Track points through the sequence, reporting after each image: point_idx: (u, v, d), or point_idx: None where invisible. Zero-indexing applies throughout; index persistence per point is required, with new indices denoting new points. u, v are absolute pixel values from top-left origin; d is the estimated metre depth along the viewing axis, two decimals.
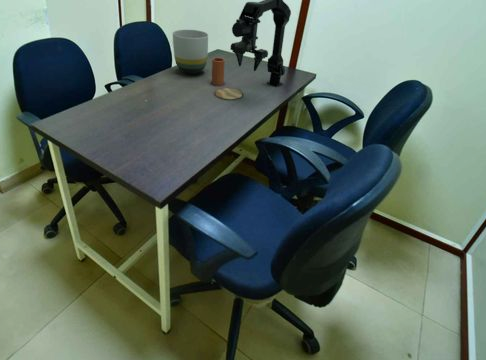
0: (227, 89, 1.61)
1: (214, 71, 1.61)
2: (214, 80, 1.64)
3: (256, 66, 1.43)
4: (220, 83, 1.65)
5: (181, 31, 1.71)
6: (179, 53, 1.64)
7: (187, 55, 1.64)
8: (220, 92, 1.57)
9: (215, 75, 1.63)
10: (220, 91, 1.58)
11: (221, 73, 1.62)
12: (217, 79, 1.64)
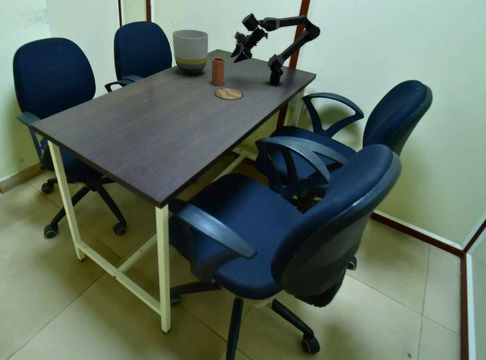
0: (227, 89, 1.61)
1: (214, 71, 1.61)
2: (214, 80, 1.64)
3: (237, 59, 1.56)
4: (220, 83, 1.65)
5: (181, 31, 1.71)
6: (179, 53, 1.64)
7: (187, 55, 1.64)
8: (220, 92, 1.57)
9: (215, 75, 1.63)
10: (220, 91, 1.58)
11: (221, 73, 1.62)
12: (217, 79, 1.64)
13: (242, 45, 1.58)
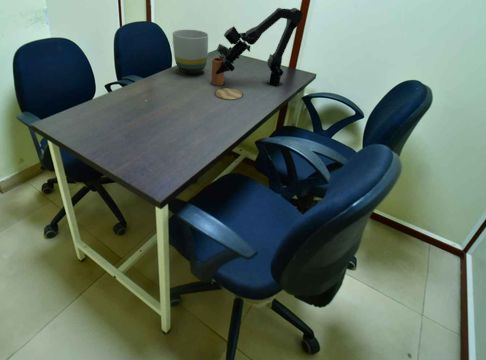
0: (227, 89, 1.61)
1: (214, 71, 1.61)
2: (214, 80, 1.64)
3: (219, 70, 1.60)
4: (220, 83, 1.65)
5: (181, 31, 1.71)
6: (179, 53, 1.64)
7: (187, 55, 1.64)
8: (220, 92, 1.57)
9: (215, 75, 1.63)
10: (220, 91, 1.58)
11: (221, 73, 1.62)
12: (217, 79, 1.64)
13: (225, 58, 1.60)
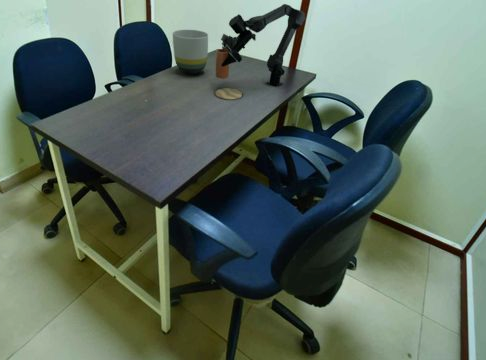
0: (227, 89, 1.61)
1: (219, 63, 1.51)
2: (219, 73, 1.54)
3: (225, 62, 1.50)
4: (225, 76, 1.56)
5: (181, 31, 1.71)
6: (179, 53, 1.64)
7: (187, 55, 1.64)
8: (220, 92, 1.57)
9: (220, 68, 1.53)
10: (220, 91, 1.58)
11: (226, 65, 1.52)
12: (222, 72, 1.54)
13: (230, 48, 1.50)
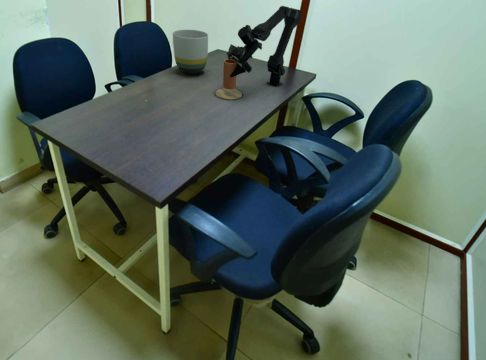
0: (227, 89, 1.61)
1: (227, 74, 1.48)
2: (227, 84, 1.51)
3: (234, 73, 1.47)
4: (233, 86, 1.53)
5: (181, 31, 1.71)
6: (179, 53, 1.64)
7: (187, 55, 1.64)
8: (220, 92, 1.57)
9: (228, 79, 1.49)
10: (220, 91, 1.58)
11: (235, 76, 1.50)
12: (231, 83, 1.51)
13: (238, 59, 1.47)
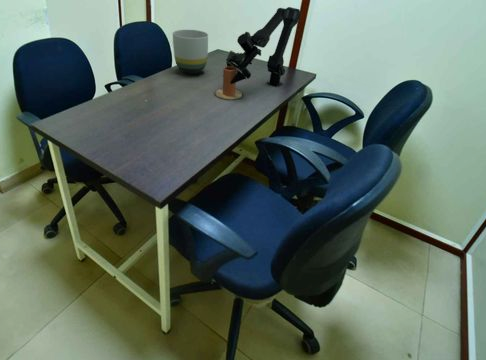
0: None
1: (227, 81, 1.50)
2: (227, 91, 1.53)
3: (234, 80, 1.48)
4: (233, 93, 1.55)
5: (181, 31, 1.71)
6: (179, 53, 1.64)
7: (187, 55, 1.64)
8: (220, 92, 1.57)
9: (228, 86, 1.51)
10: (220, 91, 1.58)
11: None
12: (230, 89, 1.53)
13: (236, 64, 1.50)
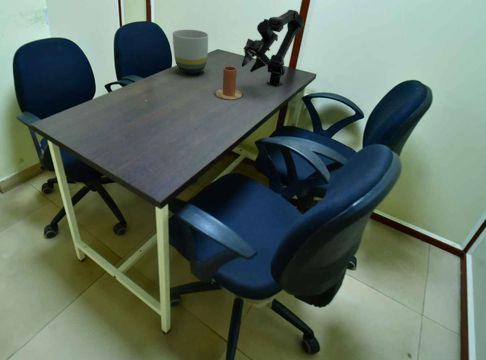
0: None
1: (227, 81, 1.50)
2: (227, 91, 1.53)
3: (254, 67, 1.48)
4: (233, 93, 1.55)
5: (181, 31, 1.71)
6: (179, 53, 1.64)
7: (187, 55, 1.64)
8: (220, 92, 1.57)
9: (228, 86, 1.51)
10: (220, 91, 1.58)
11: (234, 82, 1.52)
12: (230, 89, 1.53)
13: (254, 52, 1.50)
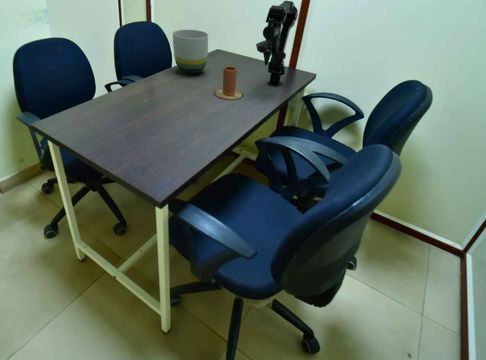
0: None
1: (227, 81, 1.50)
2: (227, 91, 1.53)
3: (274, 66, 1.50)
4: (233, 93, 1.55)
5: (181, 31, 1.71)
6: (179, 53, 1.64)
7: (187, 55, 1.64)
8: (220, 92, 1.57)
9: (228, 86, 1.51)
10: (220, 91, 1.58)
11: (234, 82, 1.52)
12: (230, 89, 1.53)
13: (269, 49, 1.50)
